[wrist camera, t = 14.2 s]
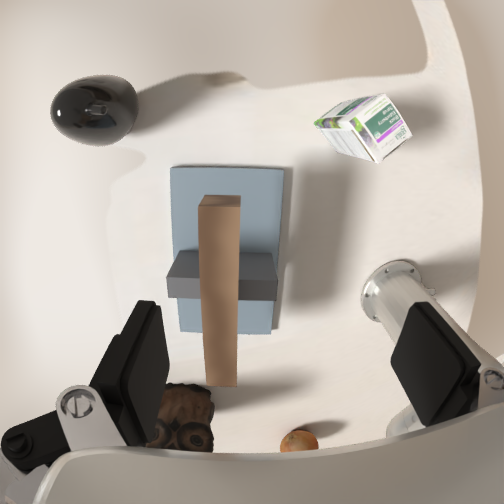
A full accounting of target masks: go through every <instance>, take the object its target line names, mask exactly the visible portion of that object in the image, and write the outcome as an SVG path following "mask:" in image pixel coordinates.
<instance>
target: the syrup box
mask: <svg viewBox="0 0 504 504" xmlns="http://www.w3.org/2000/svg"><path fill="white" fill-rule="evenodd" d="M314 124H315V126H316V127H317V128H318V129H319V131H320V132H321V133H322V134H323V135H324V137H325V138H326V139H327V140H328V142H329V143H330V144H331V145H332V147H333V148H334V149H335V151H336V152H338V153H342V154H346V155H349V156H353V157H357V158H361V159H364V160H368V161H371V162H375V163H380V162H381V161H382V160H384V159H385V158H386V157H387V156H389V155H390V154H391V153H393V152H394V151H395V150H397V149H398V148H399V147H400V146H402V145H403V144H404V143H405V142H406V141H407V140H408V139H410V138H411V137H412V136H413V135H412V133H411V131H410V130H409V128H408V126H407V124H406V123H405V121H404V119H403V118H402V116H401V114H400V113H399V111H398V110H397V108H396V107H395V105H394V104H393V103H392V101H391V100H390V99H389V97H388V96H387V95H386V94H379V95H374V96H369V97H364V98H359V99H354V100H349V101H345V102H342V103H340V104H338V105H337V106H335V107H334V108H332V109H331V110H330V111H328V112H327V113H326V114H324V115H323V116H322V117H320V118H319V119H318V120H317V121H315V122H314Z"/></svg>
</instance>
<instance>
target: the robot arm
mask: <svg viewBox="0 0 504 504" xmlns="http://www.w3.org/2000/svg"><path fill="white" fill-rule="evenodd" d="M433 295H435V289H434V288H428V289H427V288H426V287H425V286H424V285H423V284H422V280H421V276H420V274H419V272H418V270H417V269H416V268H415V267H414V266H413V265H412V264H410V263H408V262H405V261H394V262H390V263H387V264H385V265H383V266H382V267H380V268H379V269H377V270H376V271H375V272H374V273H373V274H372V275H371V276H370V277H369V279H368V280H367V282H366V284H365V286H364V288H363V291H362V294H361V305H362V308H363V310H364V312H365V314H366V315H367V316H368V317H369V318H370V319H371V320H373V321H376V322H381V323H382V325H383V326H384V328H385V329H386V331H387V332H388V334H389V336H390V337H391V339H392V340H393V342H394V344H395V345H396V346H395V349H394V351H393V354H392V356H391V366H392V368H393V370H394V371H395V373H396V375H397V377H398V379H399V381H400V383H401V385H402V386H403V388H404V390H405V392H406V394H407V396H408V398H409V400H410V402H411V404H410V405H408V406H407V407H406V408H405V409H403V410H402V411H401V412H400V413H398V414H397V415H396V416H395V417H394V418H393V419H392V420H391V421H390V423H389V424H388V426H387V429H386V438H383V439H379V440H374V441H369V442H364V443H358V444H353V445H347V446H340V447H333V448H325V449H317V450H307V451H295V452H281V453H207V452H191V451H179V450H169V449H157V448H146V443H151V442H152V439H153V435H154V430H155V426H156V422H157V417H158V413H159V409H160V405H161V401H162V397H163V393H164V389H165V385H166V381H167V377H168V373H169V367H170V363H169V356H168V351H167V345H166V339H165V332H164V326H163V319H162V312H161V307H160V306H158V305H156V303H155V302H154V301H144V300H139V301H138V302H137V304H136V306H135V308H134V309H133V311H132V313H131V315H130V317H129V319H128V321H127V322H126V324H125V326H124V328H123V330H122V332H121V334H120V335H119V334H117V335H115V336H114V337H113V339H112V341H111V343H110V344H109V346H108V348H107V350H106V352H105V354H104V356H103V358H102V360H101V362H100V364H99V366H98V368H97V370H96V372H95V374H94V376H93V378H92V380H91V382H90V384H89V386H85V385H76V386H72V387H69V388H67V389H65V390H64V391H63V392H62V393H61V394H60V395H59V397H58V398H57V401H56V410H55V411H53V412H50V413H48V414H45V415H42V416H40V417H37V418H35V419H32V420H30V421H27V422H25V423H22V424H19V425H17V426H14V427H12V428H10V429H9V430H7V431H6V432H5V434H4V435H3V437H2V441H1V448H0V504H504V367H503V366H502V365H501V364H500V363H499V362H498V361H497V360H496V359H495V358H494V357H493V356H491V355H490V354H489V353H488V352H486V351H485V350H484V349H483V348H481V347H480V346H479V345H478V344H477V343H476V342H475V341H473V340H472V339H471V338H470V336H468V334H467V333H466V332H465V331H464V330H463V329H462V328H461V327H460V326H459V325H458V324H457V323H456V322H455V320H454V319H453V318H452V317H451V316H450V315H449V314H448V313H447V312H446V311H445V310H444V309H443V308H442V307H441V305H440V304H439V303H438V302H437V301H436V299H435V298H433V297H432V296H433Z"/></svg>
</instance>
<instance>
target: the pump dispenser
mask: <svg viewBox="0 0 504 504" xmlns="http://www.w3.org/2000/svg"><path fill="white" fill-rule="evenodd" d="M137 113H138V98H137V94H136V92H135V90H134V88H133V87H132V85H131V84H130V83H129V82H128V81H126V80H124V79H123V78H121V77H118V76H113V75H94V76H88V77H84V78H81V79H78V80H75V81H73V82H71V83H69V84H67V85H66V86H65V87H63V88H62V89H61V90H60V91H59V92H58V94H57V95H56V96H55V97H54V99H53V101H52V104H51V110H50V114H51V119H52V122H53V124H54V126H55V127H56V128H57V130H58V131H60V133H62V134H63V135H65V136H66V137H68V138H70V139H72V140H74V141H76V142H79V143H82V144H86V145H91V146H106V145H111V144H114V143H116V142H118V141H119V140H121V139H122V138H123V137H124V136H125V135H126V134H127V133H128V132H129V131H130V129H131V128H132V126H133V124H134V122H135V120H136V117H137Z"/></svg>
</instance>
